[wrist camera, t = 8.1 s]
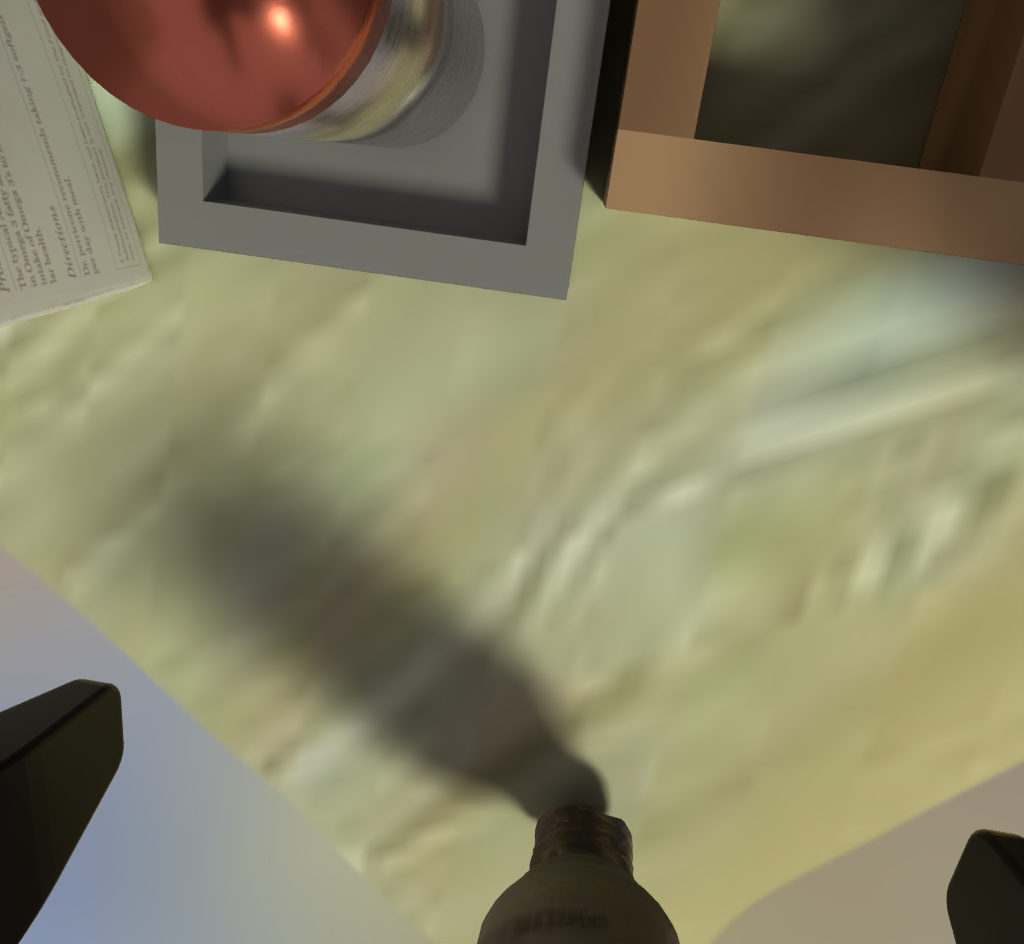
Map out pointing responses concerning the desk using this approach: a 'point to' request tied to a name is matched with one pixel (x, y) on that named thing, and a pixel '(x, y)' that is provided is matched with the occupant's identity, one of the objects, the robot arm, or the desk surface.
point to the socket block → (819, 179)
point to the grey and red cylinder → (283, 63)
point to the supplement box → (56, 180)
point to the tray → (417, 173)
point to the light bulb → (578, 888)
